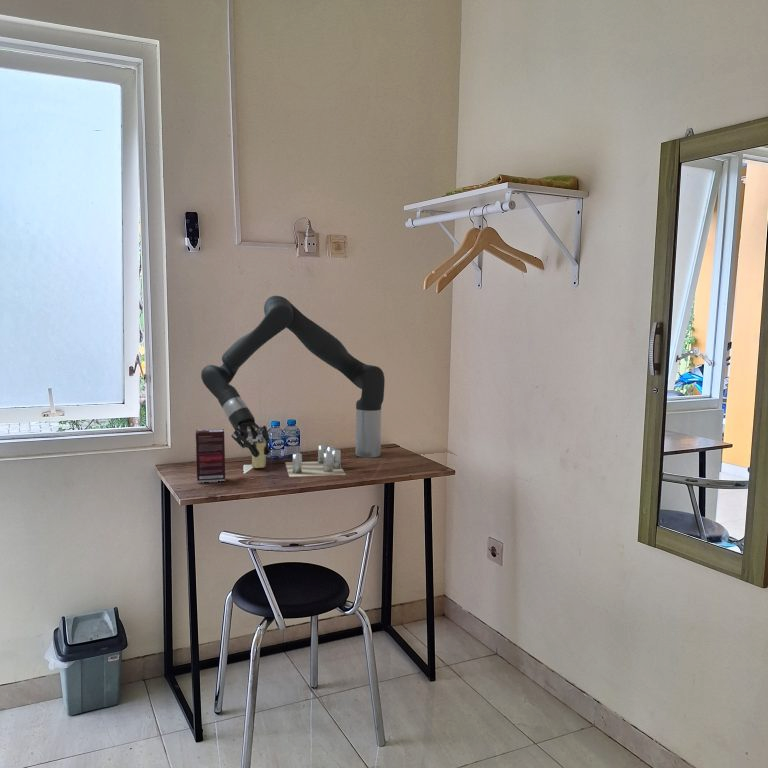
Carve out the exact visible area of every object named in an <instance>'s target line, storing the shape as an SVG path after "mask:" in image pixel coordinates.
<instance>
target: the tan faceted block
mask: <svg viewBox="0 0 768 768" xmlns="http://www.w3.org/2000/svg"><path fill="white" fill-rule="evenodd" d="M253 443H254V444H253V445H255V446H256V448H257V449H258V451H259V453H260V454H259V456H258V457H254V456H253V455H252V454H251V465H252V467H253V468H256V469H262V468H265V467H266V466H267V464H266V463H267V455H266V442H264V441H262V440H260V441H254V440H253Z"/></svg>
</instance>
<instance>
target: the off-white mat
mask: <svg viewBox="0 0 768 768" xmlns="http://www.w3.org/2000/svg"><path fill="white" fill-rule="evenodd" d="M242 467H243V469H242V470H243V471H244V472H243V474H244V475H245V474H246V473H247V472H249V471H251V470H252V469H253V468H254V467H252V464H243V466H242Z"/></svg>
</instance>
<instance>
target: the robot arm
mask: <svg viewBox="0 0 768 768" xmlns="http://www.w3.org/2000/svg"><path fill="white" fill-rule="evenodd" d="M263 312H264V317H263V318H262V320H261V321H260V322H259V324H258V325H257V326H256V327H255V328H254V329H253V330H251V331H249V332H248V333H247V334H245V335H243V336H242V337H240V338H239V339H237V340H236V341H235V342H233V344H232V345H230V347H228V348H227V350H226V351H225V352H224V353H223V354H222V356H221V362H222V365H221V366H218V365H214V364H208V365H205V366H204V367H203V368H202V369H201V374H200V378H201V380H202V383H203V384H204V386H205V388H207V390H208V391H209V392H210V393H211V394H212V395H213V396H214V397H215V398H216V399H217V402H218V403H219V405H220V406H221V408H222V410H223V412H224V415H225V416H226V417H227V420H228V421H229V422H230V425H231V426H232V428H233V430H234V431H233V433H232V434H231V438H232V439H233V440H234V441H235V442H236V443H237V444H239V446H240V447H241V448H242V449H245V448H247V449H248V450H249V451H250V453H251V456H252V455H253V456H254V457H258V456H259V454H260V453H259V451H258V449H257V448H256V446H255V445H253V444H254V443H253V442H254V441H264V442H266V456H268V455H269V454H270V453H271V448H270V447H269V445H268V444H267V443H268V441H269V440H270V435H269V433H268V429H267V426H266V425H263V426H259V424H257V423H256V422H255V420H256V419H255V416H254V415H253V414H252V412H251V410H250V409H249V407H248V405H247V403H246V402H245V400H244V399H243V398H242V397H241V395H240V394H239V392H238V391H237V389H236V387H234V386H233V385H232V384H230V383H231V382H232V381H233V379H234V377H235V375H236V374H237V372H238V370H239V369H240V368H241V367H242V366H243V365H244V364H245V363H246V362H247V360H249V359H250V358H251V356H252V355H254V353H255V352H257V351H258V350H259V349H260V348H262V347H263V346H264V345H265V344H267V342H268V341H270V340H272V339H273V338H274V337H275V336H277V335H278V334H279V333H281V332H282V331H284V330H285V329H288V330H289V331H290V332H291V333H293V334H294V335H295V336H296V338H297V339H298V340H299V341H300V343H302V344H303V346H304V347H305V348H306V349H307V350H308V351H309V352H310V353H311V354H312V355H315V356H316V357H317V358H318V359H320V360H321V361H323V362H324V363H326V364H327V365H329V366H330V367H332V368H334V369H335V370H337V371H339V372H340V373H341V374H342V375H344V376H345V377H346V378H347V379H348V380H349V381H350V382H351V383H352V384H353V385H355V387H357V388H358V389H360V390H361V396H360V398H359V399H358V400H356V402H355V453H354V454H355V457H358V456H359V457H358V458H365V459H366V458H370V459H371V458H378V457H381V450H382V449H381V446H382V405H383V402H384V398H385V386H386V385H385V374H384V372H383V370H382V368H380V367H379V366H376V365H371V364H366V363H364V362H362V361H361V360H359V359H357V358H356V357H354V356H353V354H351V353H349V351H348V350H347V348H346V347H345V345H344V344H343V343H342V342H341V341H340V340H339V339H338V338H337V337H335V336H334V335H333V334H332V333H330V332H329V331H327V330H326V329H325V328H323V327H322V326H320V325H319V324H318V323H316V322H315V321H314V320H312V319H310V318H308V317H307V316H306V315H305V314H303V313H302V312H301V311H300V310H299V309H298V308H297V307H296V306H295V305H294V304H293V303H292V302H291V301H289V300H288V299H287V298H286V297H283V296H280V295H272V296H269V297H268V298H267V299H266V300H265V302H264V305H263Z"/></svg>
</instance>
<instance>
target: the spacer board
mask: <svg viewBox="0 0 768 768" xmlns="http://www.w3.org/2000/svg"><path fill="white" fill-rule="evenodd" d="M284 464H285V468H286V470H287V475H288V477H290V478H293V477H294V478H295V477H296V478H297V477H325V476H326V477H327V476H346V475H347V474H346V472H345V471H344V468H343V467H342V466H341V468H340V469H333V471H332V472H323V464H321V463H318V461H302V473H300V474H294V473H293V461H290V462H289V461H287V462H284Z"/></svg>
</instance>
